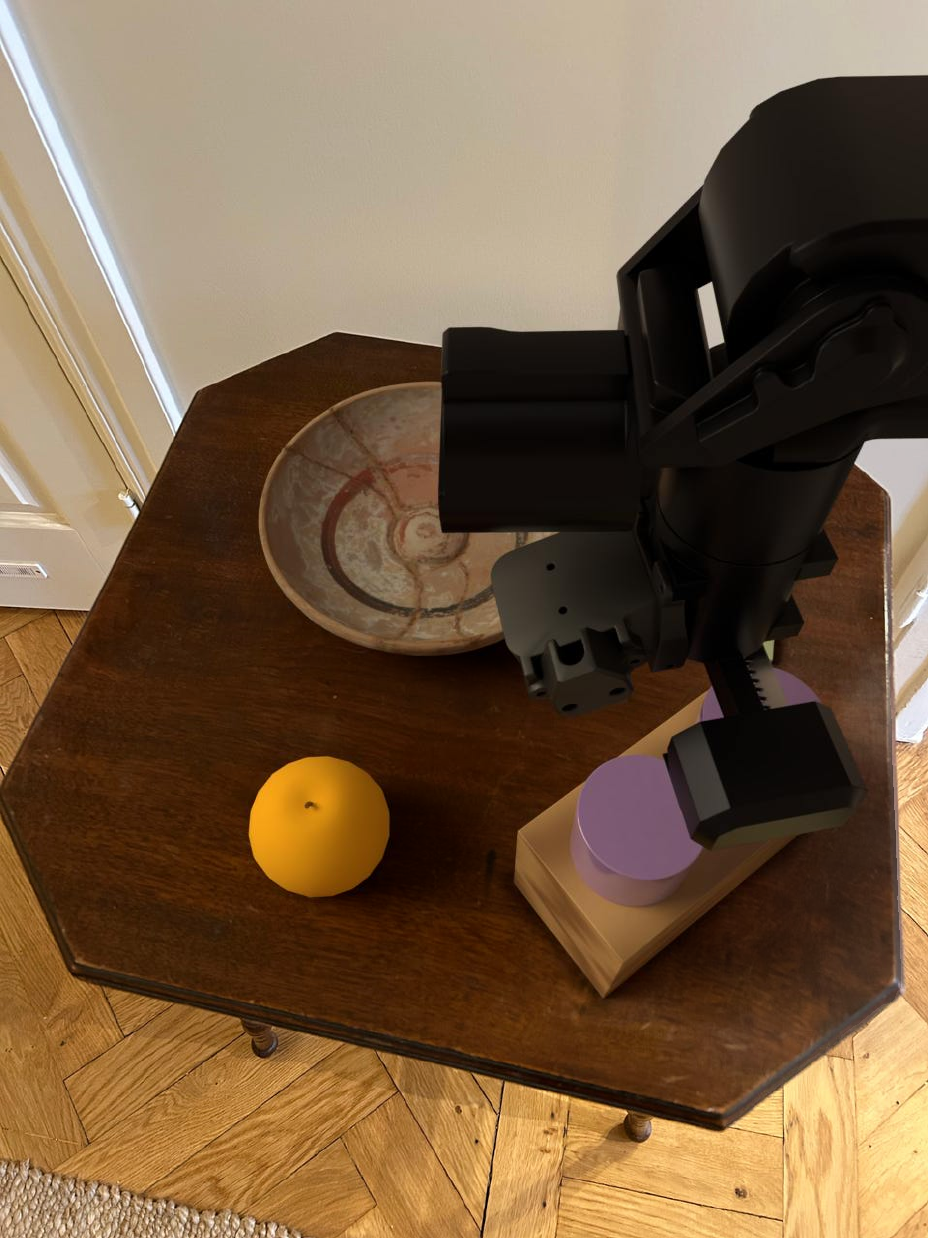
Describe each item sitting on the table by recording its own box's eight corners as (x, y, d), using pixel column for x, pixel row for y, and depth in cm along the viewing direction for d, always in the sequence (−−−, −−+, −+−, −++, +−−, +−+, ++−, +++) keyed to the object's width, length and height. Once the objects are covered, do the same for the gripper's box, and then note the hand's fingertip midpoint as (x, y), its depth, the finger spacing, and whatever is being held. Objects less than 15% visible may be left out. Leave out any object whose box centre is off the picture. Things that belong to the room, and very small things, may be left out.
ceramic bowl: (236, 667, 62) (218, 628, 57) (308, 417, 74) (297, 370, 70) (578, 698, 60) (585, 660, 56) (592, 436, 72) (599, 389, 68)
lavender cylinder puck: (716, 858, 45) (737, 827, 41) (625, 933, 43) (638, 907, 39) (634, 767, 47) (646, 730, 44) (545, 834, 46) (550, 802, 42)
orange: (404, 789, 57) (393, 739, 50) (383, 918, 52) (369, 880, 46) (279, 777, 57) (252, 725, 51) (249, 902, 53) (216, 863, 47)
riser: (804, 829, 55) (854, 770, 47) (603, 999, 50) (623, 964, 42) (709, 733, 58) (742, 664, 51) (513, 882, 53) (517, 831, 46)
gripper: (462, 351, 36) (472, 579, 49) (578, 793, 26) (551, 929, 39) (736, 310, 36) (673, 545, 49) (951, 725, 26) (801, 881, 40)
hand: (669, 705), depth 44 cm, fingers open, 9 cm apart
